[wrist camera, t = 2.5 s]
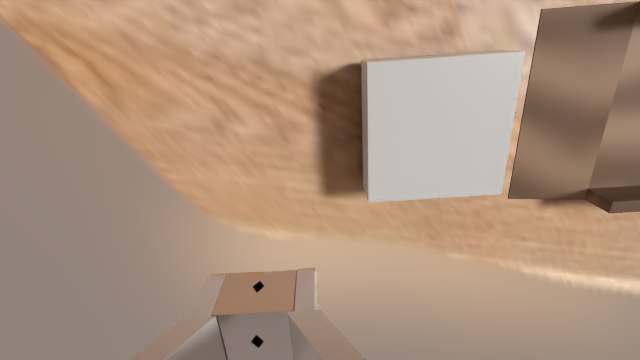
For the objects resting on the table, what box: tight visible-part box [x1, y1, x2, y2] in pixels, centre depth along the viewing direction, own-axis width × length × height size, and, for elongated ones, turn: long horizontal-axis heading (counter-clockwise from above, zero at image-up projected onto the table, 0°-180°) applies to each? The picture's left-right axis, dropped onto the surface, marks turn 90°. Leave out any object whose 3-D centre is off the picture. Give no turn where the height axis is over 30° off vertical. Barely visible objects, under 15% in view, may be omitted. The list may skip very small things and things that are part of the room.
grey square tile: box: [361, 50, 525, 202], centre depth 24 cm, size 10×10×4 cm
